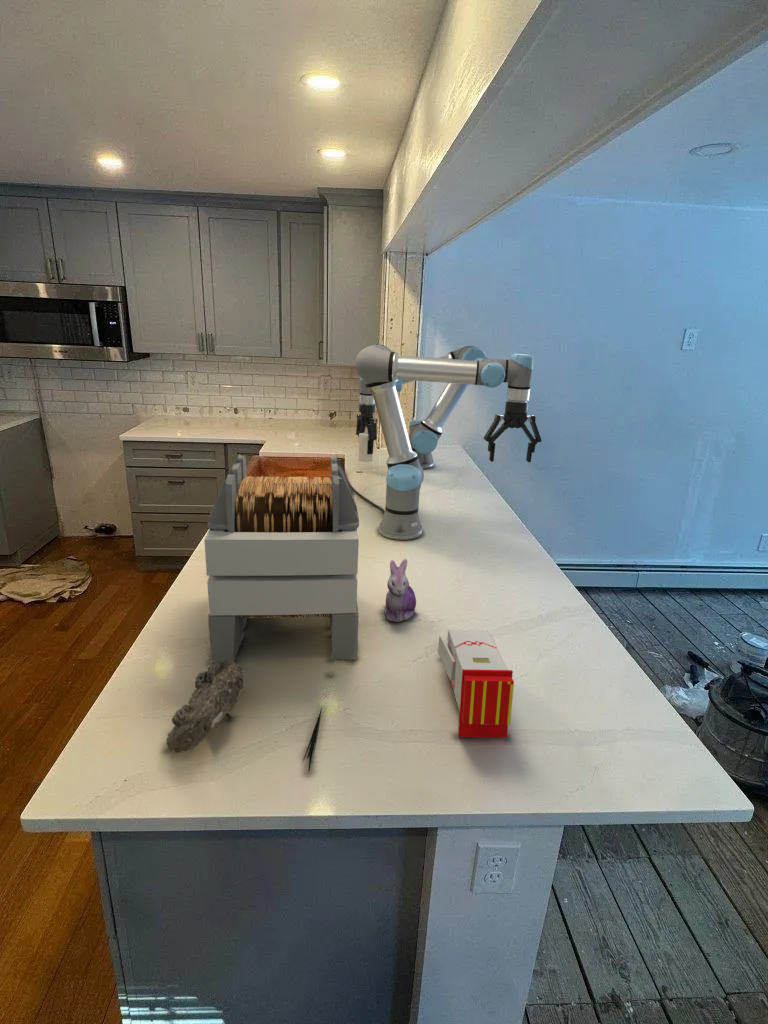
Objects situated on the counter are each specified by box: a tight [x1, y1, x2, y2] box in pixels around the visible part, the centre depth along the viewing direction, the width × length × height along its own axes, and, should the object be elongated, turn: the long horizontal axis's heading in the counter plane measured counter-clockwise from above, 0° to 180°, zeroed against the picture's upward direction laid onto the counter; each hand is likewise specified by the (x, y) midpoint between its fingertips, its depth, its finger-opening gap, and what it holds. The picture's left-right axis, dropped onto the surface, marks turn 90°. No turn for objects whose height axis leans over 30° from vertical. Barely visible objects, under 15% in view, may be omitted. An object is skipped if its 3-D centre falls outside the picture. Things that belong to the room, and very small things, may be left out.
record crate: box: [204, 454, 360, 662], centre depth 134 cm, size 34×33×41 cm
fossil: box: [166, 659, 245, 754], centre depth 106 cm, size 22×10×15 cm
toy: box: [437, 628, 515, 738], centre depth 117 cm, size 12×13×30 cm
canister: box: [358, 432, 374, 463], centre depth 270 cm, size 7×7×13 cm
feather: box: [301, 673, 332, 771], centre depth 108 cm, size 2×28×2 cm
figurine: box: [384, 558, 417, 623], centre depth 145 cm, size 9×10×15 cm
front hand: (509, 461), depth 201 cm, fingers open, 13 cm apart
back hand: (365, 452), depth 271 cm, fingers closed on canister, 7 cm apart
